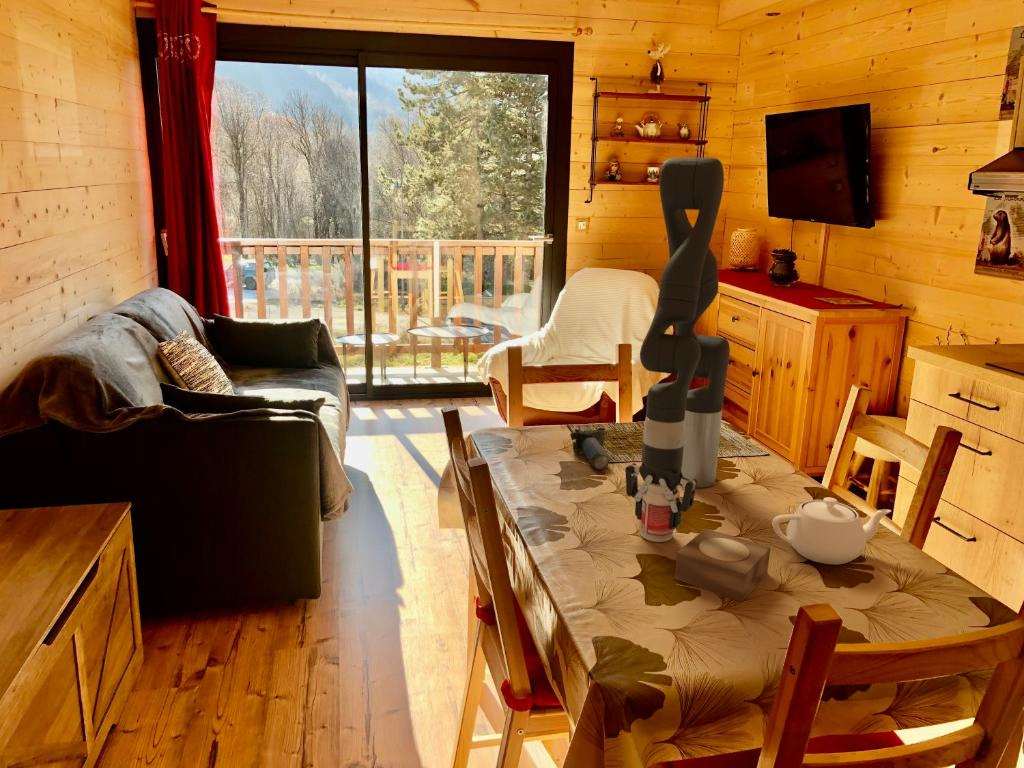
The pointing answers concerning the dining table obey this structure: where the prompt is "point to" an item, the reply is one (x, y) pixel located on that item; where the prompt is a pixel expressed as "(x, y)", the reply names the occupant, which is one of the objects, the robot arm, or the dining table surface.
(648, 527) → the pill bottle
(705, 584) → the pedestal
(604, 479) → the dining table surface
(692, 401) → the robot arm
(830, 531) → the teapot
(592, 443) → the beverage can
